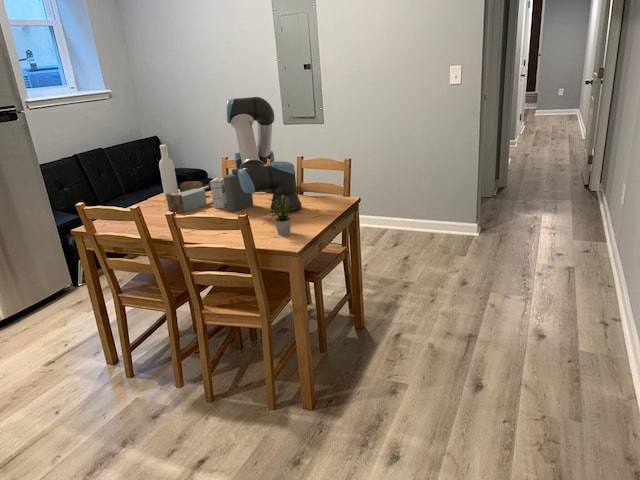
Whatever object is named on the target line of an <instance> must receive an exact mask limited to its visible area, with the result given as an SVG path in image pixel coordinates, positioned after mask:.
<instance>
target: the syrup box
mask: <svg viewBox="0 0 640 480" xmlns="http://www.w3.org/2000/svg"><path fill="white" fill-rule="evenodd" d="M209 184H210V185H211V191H210V192H211V195H212V203H213V207H214V208H213V209H225V208H227V202H226V195H225V187H224V180H223V177H216V178H213V179H211V180H210V181H209Z"/></svg>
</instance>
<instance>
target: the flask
mask: <svg viewBox="0 0 640 480" xmlns="http://www.w3.org/2000/svg"><path fill="white" fill-rule="evenodd" d="M238 170H239V169H236V168H232V169H231V173H230V174H227V175H224V176H223V177H222V178H223V180H224V187H225V195H226V202H227V206H226V208H227V212H228V213H235V212H238V211H240V210H243V209H246V208H252V207H253V206H254V200H253V193H245V192H243V190H242V188H241V186H240V182H239V178H238Z"/></svg>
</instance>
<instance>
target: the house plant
mask: <svg viewBox="0 0 640 480" xmlns="http://www.w3.org/2000/svg"><path fill="white" fill-rule="evenodd" d="M284 197H285V196H284ZM284 197H283V195H282V197H281V205H280V204H279V202H278V201H277V200H276V203H277V204H276V203H275V202H274V201H272V198H271V199H270V198H268V197H267V198H266V199H268V200H269V201H271V203H272V202H273V203H274V205H275V208H276V209H277V210H272V209H271V204H270V203H267V202H265V204H266V205H269V206H270V207H268V210H267V212H269V213H270V214H269V217H271V218H273V217H276V218H274V224H275V228H276V231H277V234H278V236H287V235H290V234H291V226H292V225H291V223H292V217H290V216H292V214H291V213H289V212H287V210H288V208H289V204H290V203H289V204H288V202H289V199H288V201H287V197H286V200H285V206H284V207H283V199H284ZM286 203H287V204H286ZM291 204H292V203H291ZM291 204H290V205H291ZM272 207H273V206H272ZM273 208H274V207H273ZM275 208H274V209H275ZM293 209H296V208H293ZM291 210H292V209H291ZM271 212H272V213H271ZM273 212H274V213H273ZM275 212H276V213H275Z"/></svg>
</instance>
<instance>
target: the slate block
mask: <svg viewBox="0 0 640 480" xmlns="http://www.w3.org/2000/svg"><path fill="white" fill-rule="evenodd" d="M177 194H181V195H182V201H183V207H184V212H183V213H185V212H188V211H192V210H194V209H198V208H200V207H203V206H208V203H207V197H206V192H205V190H203V189H191V190H188V191H184V192H179V193H177Z"/></svg>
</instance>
